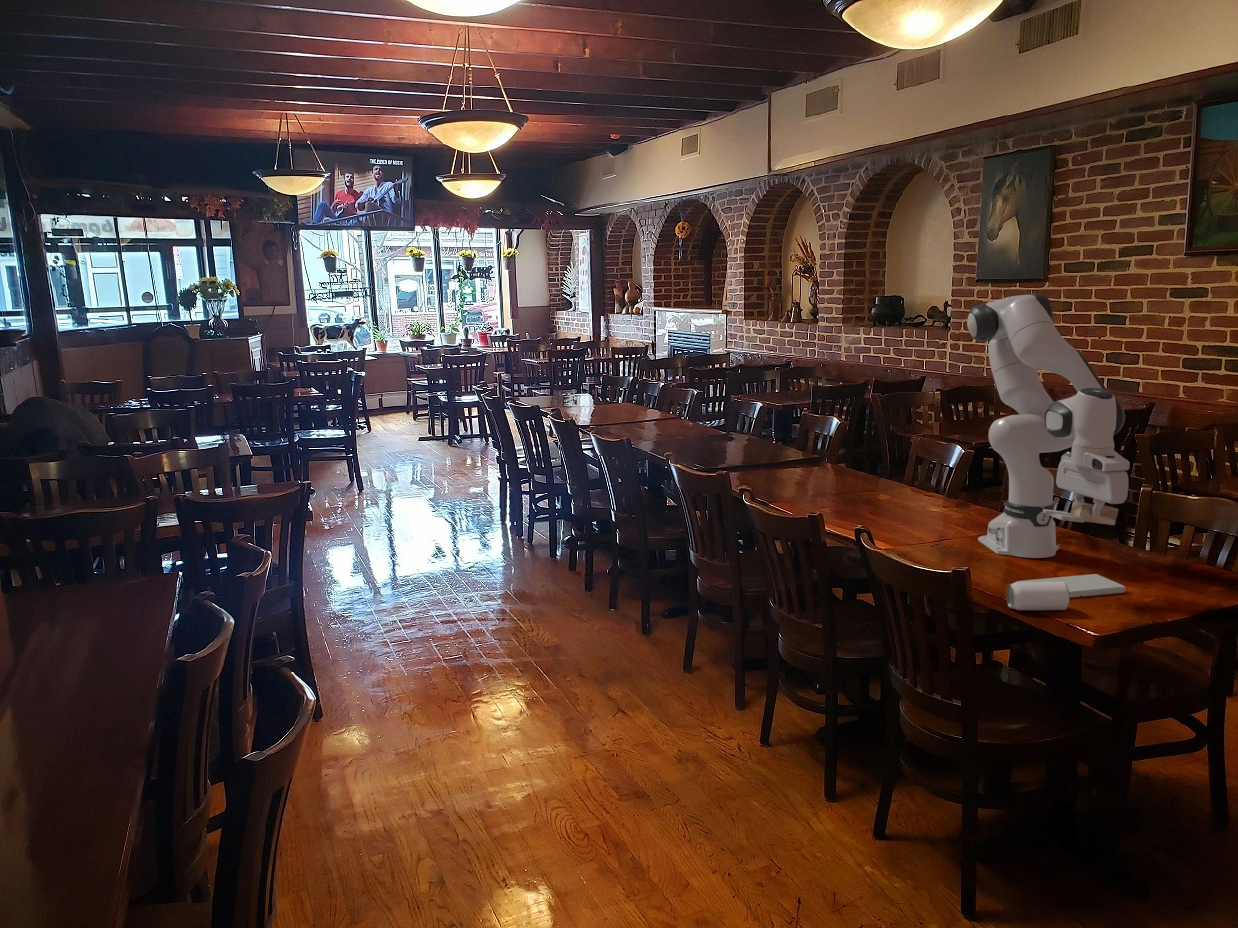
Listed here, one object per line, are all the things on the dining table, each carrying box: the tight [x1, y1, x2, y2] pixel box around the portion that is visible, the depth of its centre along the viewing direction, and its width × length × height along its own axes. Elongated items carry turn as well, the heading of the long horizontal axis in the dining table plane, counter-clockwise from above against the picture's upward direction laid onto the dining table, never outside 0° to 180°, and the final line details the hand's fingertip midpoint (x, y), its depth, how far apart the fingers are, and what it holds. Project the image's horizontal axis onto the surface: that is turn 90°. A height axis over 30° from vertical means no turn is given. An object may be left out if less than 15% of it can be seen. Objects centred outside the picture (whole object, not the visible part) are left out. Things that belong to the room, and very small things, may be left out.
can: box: [1005, 581, 1071, 611], centre depth 198 cm, size 6×6×12 cm
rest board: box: [1015, 573, 1126, 599], centre depth 210 cm, size 10×22×2 cm, turn 100°
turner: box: [1043, 501, 1119, 526], centre depth 207 cm, size 7×16×4 cm, turn 100°
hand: (1087, 513), depth 207 cm, fingers closed on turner, 3 cm apart
